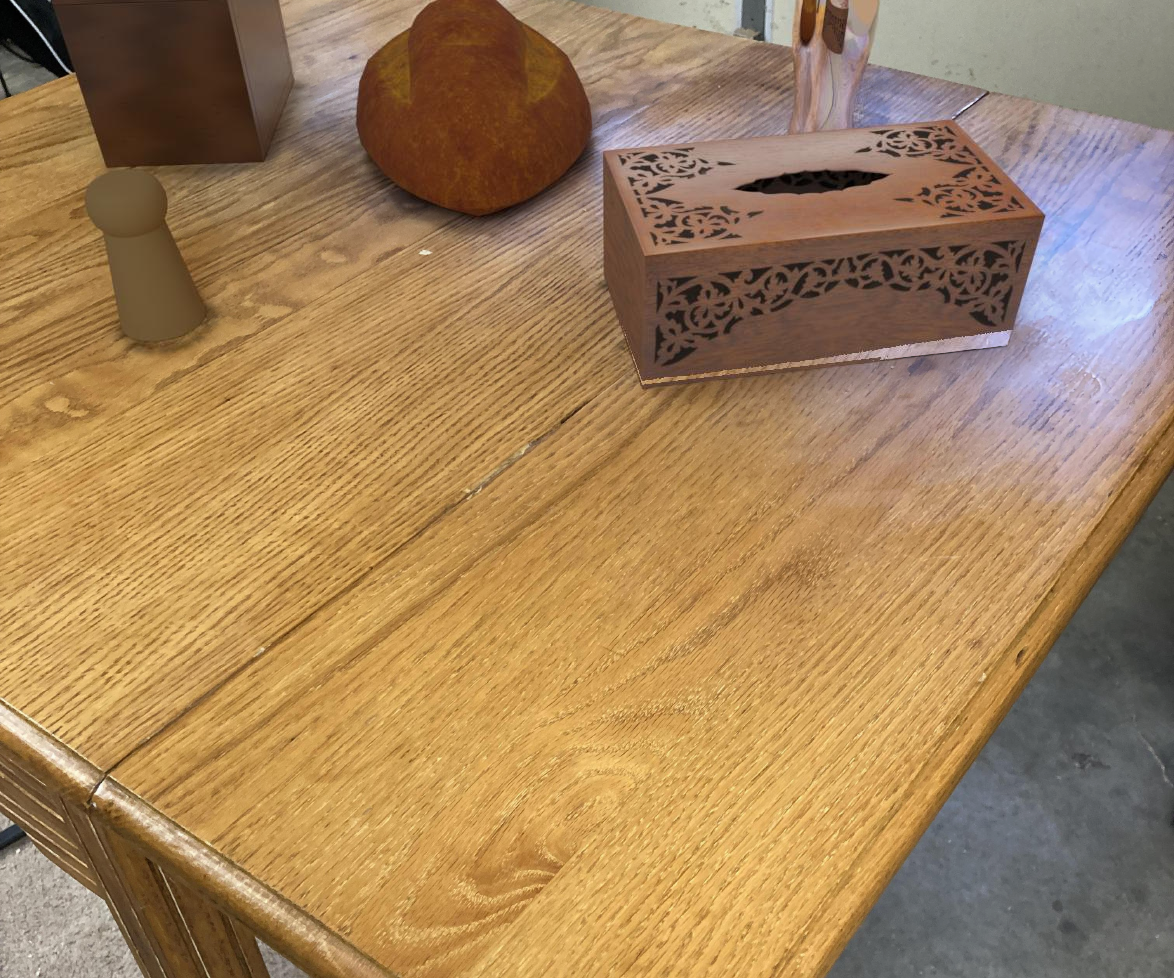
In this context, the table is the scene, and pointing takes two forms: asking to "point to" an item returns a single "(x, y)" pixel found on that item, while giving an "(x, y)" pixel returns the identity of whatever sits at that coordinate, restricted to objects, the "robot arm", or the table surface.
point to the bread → (472, 108)
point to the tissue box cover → (810, 247)
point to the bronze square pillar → (179, 77)
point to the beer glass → (829, 61)
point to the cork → (143, 256)
